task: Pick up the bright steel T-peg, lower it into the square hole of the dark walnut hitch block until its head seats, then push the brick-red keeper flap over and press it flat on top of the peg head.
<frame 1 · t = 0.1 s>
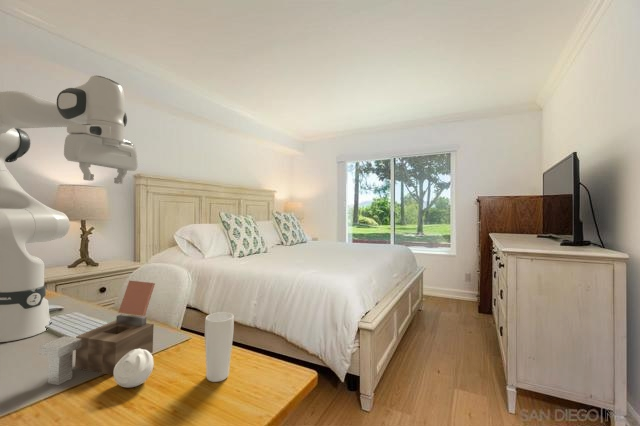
hand: (104, 182, 85), 48 cm above the table, tool pointing down, fingers open, 8 cm apart
hitch block: (116, 359, 78), on the table
keeper flap: (136, 297, 84), point 15 cm above the table, hinge at 112.0°
drinking glass: (217, 377, 72), on the table
white ridged ball: (134, 385, 68), on the table
steel peg: (60, 380, 68), on the table
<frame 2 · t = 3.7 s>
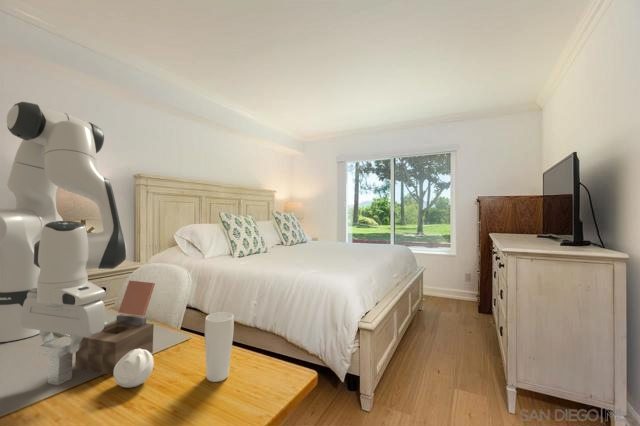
hand: (61, 350, 68), 7 cm above the table, tool pointing down, fingers closed on steel peg, 5 cm apart
steel peg: (60, 380, 68), on the table, touching gripper
everything else where it was.
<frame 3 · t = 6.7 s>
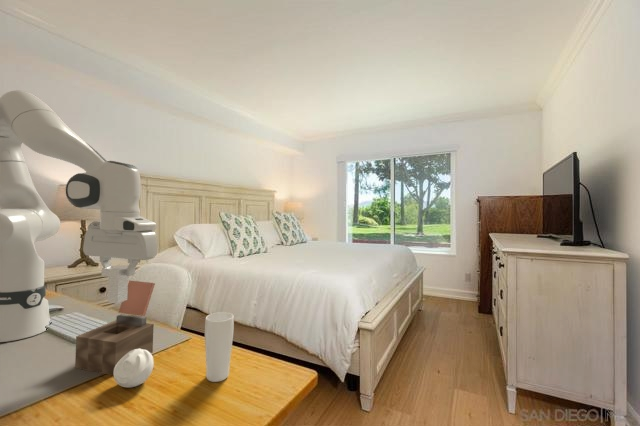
hand: (118, 274, 78), 23 cm above the table, tool pointing down, fingers closed on steel peg, 5 cm apart
steel peg: (117, 300, 78), point 16 cm above the table, touching gripper
everything else where it was.
when the fingers open (9 cm above the table, at t = 10.1 s): steel peg stays where it is, resting on hitch block.
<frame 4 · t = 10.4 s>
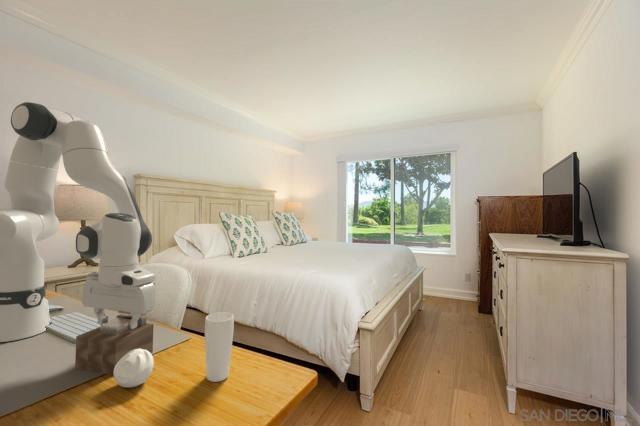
hand: (117, 325, 78), 9 cm above the table, tool pointing down, fingers open, 8 cm apart
steel peg: (116, 355, 78), point 1 cm above the table, touching hitch block
everything else where it was.
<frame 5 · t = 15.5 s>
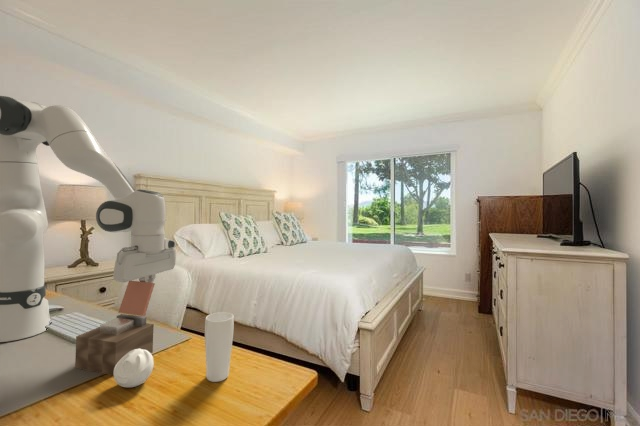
hand: (146, 290, 87), 16 cm above the table, tool pointing down, fingers closed
keeper flap: (136, 297, 84), point 15 cm above the table, hinge at 111.4°, touching gripper
everything else where it was.
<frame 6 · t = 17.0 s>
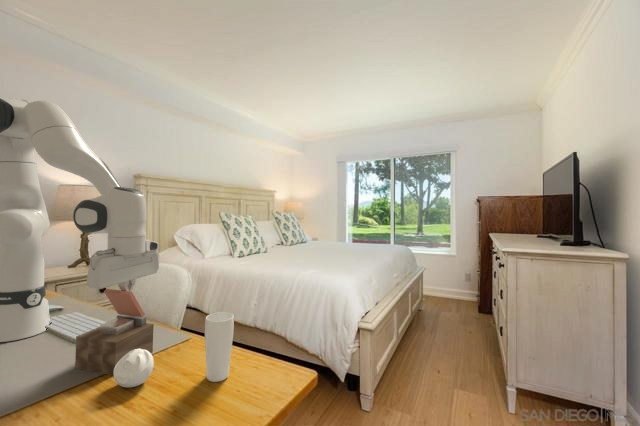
hand: (126, 296, 80), 16 cm above the table, tool pointing down, fingers closed, pressing on keeper flap
keeper flap: (124, 303, 80), point 15 cm above the table, hinge at 58.0°, touching gripper
everything else where it was.
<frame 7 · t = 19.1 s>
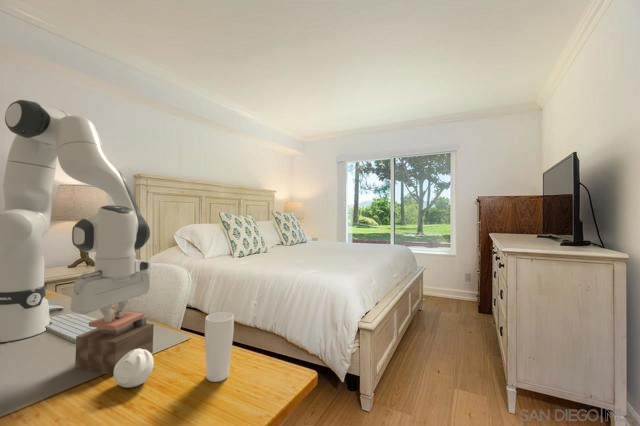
hand: (114, 319, 77), 11 cm above the table, tool pointing down, fingers closed on keeper flap
keeper flap: (117, 319, 78), point 11 cm above the table, hinge at 0.0°, touching gripper
everything else where it was.
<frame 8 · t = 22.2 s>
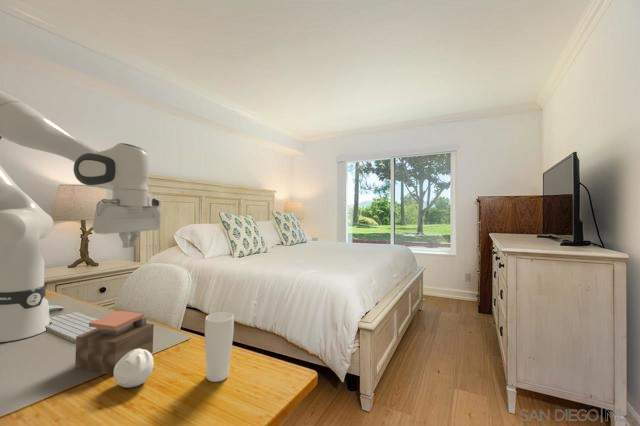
hand: (129, 247, 85), 29 cm above the table, tool pointing down, fingers closed
keeper flap: (117, 320, 78), point 11 cm above the table, hinge at -0.5°
everything else where it was.
at the end: steel peg 0.0 cm off-centre on the hitch block, point 1.0 cm above the hitch block's base; keeper flap at +0° (first picture: +112°); steel peg tilted 0° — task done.
